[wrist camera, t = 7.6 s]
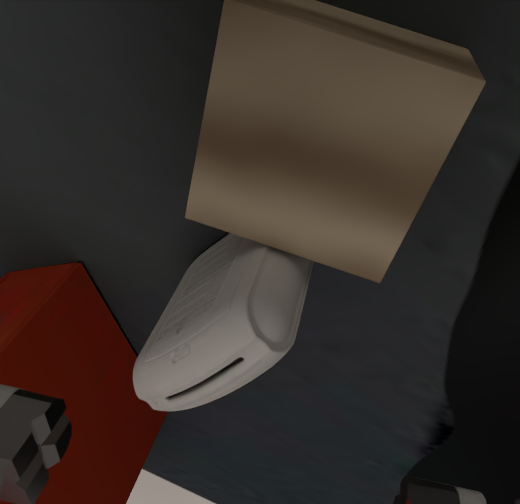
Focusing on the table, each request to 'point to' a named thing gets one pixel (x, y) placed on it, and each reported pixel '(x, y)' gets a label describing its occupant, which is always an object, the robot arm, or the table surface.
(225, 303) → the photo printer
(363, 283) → the table surface
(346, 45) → the oak box
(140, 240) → the table surface
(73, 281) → the file binder
